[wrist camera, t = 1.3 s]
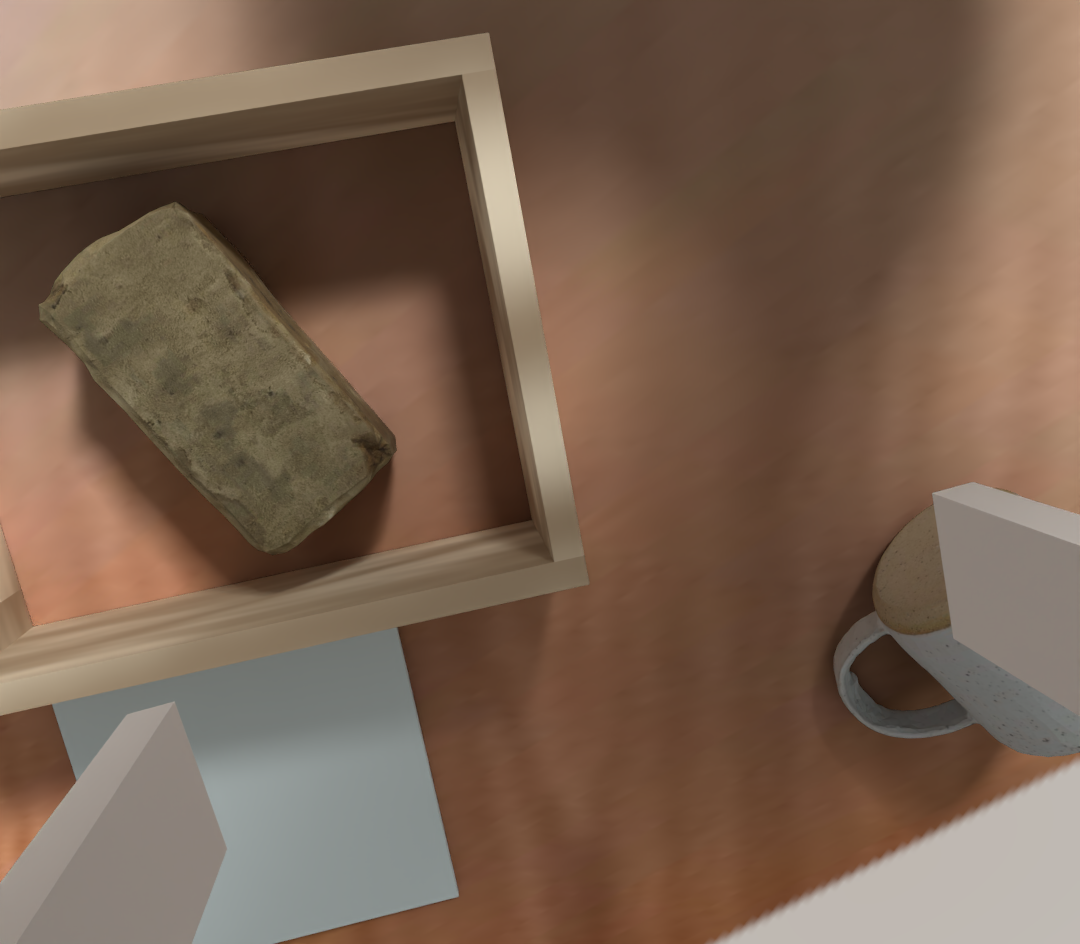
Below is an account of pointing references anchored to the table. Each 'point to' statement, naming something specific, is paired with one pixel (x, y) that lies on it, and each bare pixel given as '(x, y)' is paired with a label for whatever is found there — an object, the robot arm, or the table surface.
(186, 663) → the slotted box
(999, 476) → the table surface
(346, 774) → the mat
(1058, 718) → the ceramic mug
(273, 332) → the stone block
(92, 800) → the robot arm
